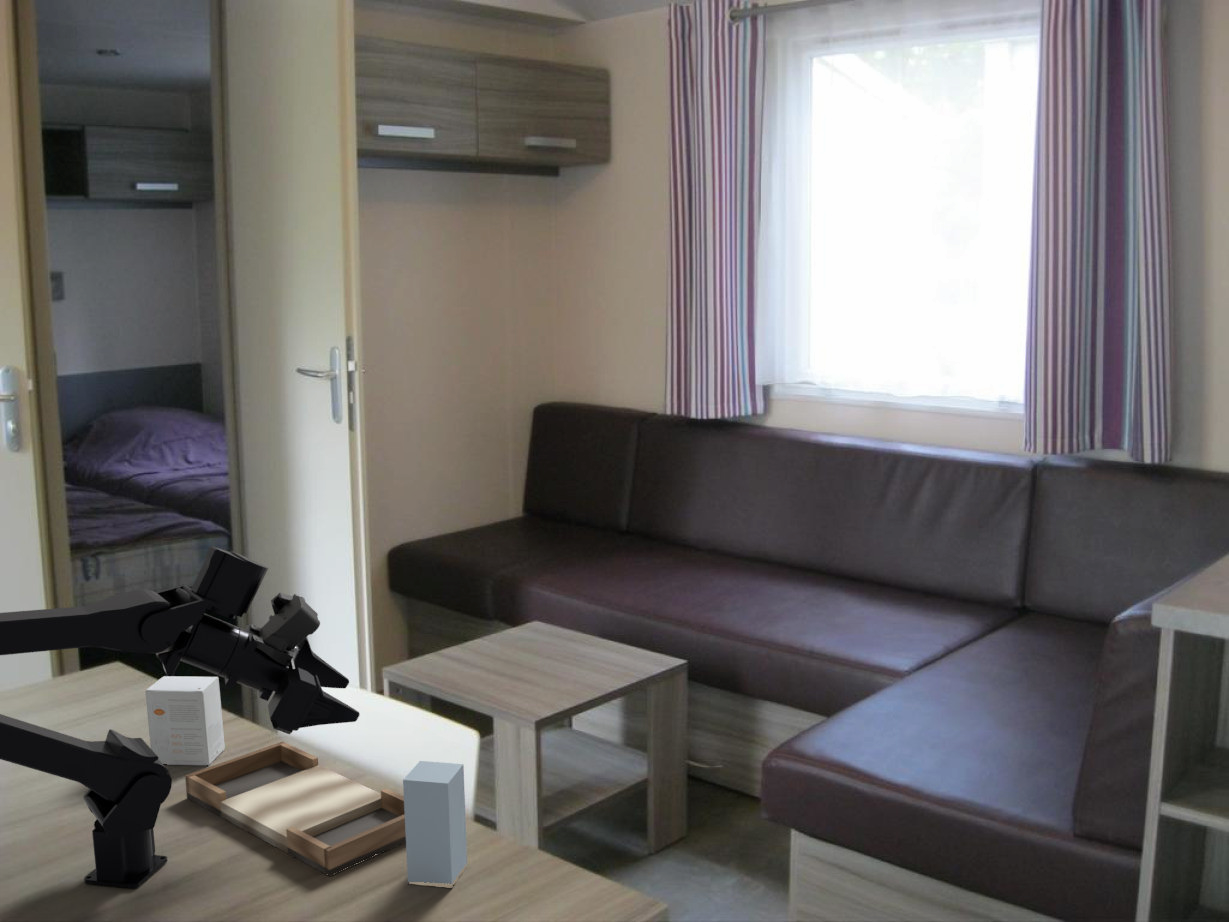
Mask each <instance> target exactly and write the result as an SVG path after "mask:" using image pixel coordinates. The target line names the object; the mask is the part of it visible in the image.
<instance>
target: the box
mask: <svg viewBox="0 0 1229 922" xmlns="http://www.w3.org/2000/svg"><path fill="white" fill-rule="evenodd" d="M184 777H185V778H184V779H185V790H186V792H185V793H186V799H187V798H188V800H190V801H191V802H193V803H195V804H197V805H198V806H200V807H202V808H204V809H206V810H208V811H209V812H211V813H214V814H215V815H217V816H218V817H221V818H222V819H225V820H226V821H228V822H230V823H231V824H233V825H235V826H237V827H239V828H240V829H243V830H244V831H246V832H248V833H250V834H251V835H254V836H255V837H257V838H259V839H261V840H263V841H264V842H266V843H268V844H269V845H271V846H274V847H275V848H277V849H278V850H281V851H282V852H284V853H286V854H287V855H289V854H290V855H289V856H291V855H292V856H291V857H293V858H295V857H296V858H295V859H297V860H299V861H300V862H302V861H303V862H302V863H305V864H306V865H308V866H309V865H311V866H312V867H311V866H310V867H311V868H313V867H314V868H313V869H315V868H316V869H315V870H317V869H318V870H317V871H319V870H320V871H322V872H323V873H322V872H321V873H322V874H324V873H325V874H324V875H326V874H328V875H329V876H330V877H332V876H334V875H333V874H334V873H336V872H339V871H341V870H343V869H345V868H347V867H350V866H352V865H354V864H356V863H359V862H361V861H363V860H366V859H368V858H370V857H372V856H374V855H375V854H379V853H381V854H383V853H382V852H383V851H386V850H388V849H390V850H392V849H394V848H393V847H395V846H397V845H399V846H401V845H403V844H402V843H404V842H406V832H405V811H404V795H401V794H399V793H397V792H395V791H393V790H391V789H388V788H384V789H382V790H380V792H378V791H377V790H374V789H371V788H370V787H368V786H365V785H364V784H361V783H359V782H356V781H354V780H352V779H349V778H347V777H345V776H343V775H342V774H341V775H340V774H339V773H337V772H334V771H332V770H330V769H328V768H326V767H324V766H323V765H322V766H321V765H319V758H318V756H316V755H313V754H311V753H309V752H306V751H304V750H302V749H299V748H297V747H296V746H293V745H290V744H289V743H286V742H284V741H281V742H278V743H275V744H272V745H269V746H266V747H263V748H260V749H258V750H254V751H251V752H248V753H246V754H243V755H240V756H237V757H235V758H232V759H229V760H226V761H223V762H220V763H217V764H214V765H211V766H208V767H206V768H202V769H200V770H198V771H197V770H196V771H194V772H191V773H189V774H186V775H184ZM400 844H401V845H400ZM404 844H405V843H404ZM397 847H398V846H397ZM391 848H392V849H391ZM395 848H396V847H395ZM388 851H389V850H388ZM386 852H387V851H386ZM379 855H380V854H379ZM372 858H373V857H372ZM370 859H371V858H370ZM368 860H369V859H368ZM366 861H367V860H366ZM361 863H362V862H361ZM359 864H360V863H359ZM352 867H353V866H352ZM350 868H351V867H350ZM320 871H319V872H320ZM341 872H342V871H341ZM339 873H340V872H339ZM328 875H327V876H328ZM331 875H332V876H331ZM329 876H328V877H329Z"/></svg>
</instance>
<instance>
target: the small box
mask: <svg viewBox="0 0 1229 922" xmlns="http://www.w3.org/2000/svg"><path fill="white" fill-rule="evenodd" d="M219 679H220V678H219V676H186V675H185V676H175V675H172V676H167V675H164V676H162V677H161V678H159V679H158V680H156V682H154V683H153V684H151V685H150V686H149V687H148V688H147V689H145V691H144V692H145V702H146V712H147V714H146V715H147V721H148V723H147V724H148V725H147V726H148V733H149V735H148V736H149V743H150V744H149V745H150V748H151V749H152V751H153V752H154V753H155V754H156V755H157V756H158V759H159V760H160V762H161V763H162V764H167V765H166V766H169V765H170V766H207V765H208V766H210V765H211V764H212V763H213V762H214V761H215V760H216V758H218V756H219V755H220V754H221V753H222V752H223V751H224V750H225V749H226V746H225V737H224V736H225V735H224V734H225V732H224V726H223V725H224V723H223V712H222V701H221V690H220V681H219Z"/></svg>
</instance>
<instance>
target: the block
mask: <svg viewBox="0 0 1229 922" xmlns="http://www.w3.org/2000/svg"><path fill="white" fill-rule="evenodd" d="M464 768H465V767H464V764H463V763H451V762H440V761H429V760H427V761H426V760H425V761H424V760H419V761H418V763H416V765H415V766H414V767H413V768H412V769H411V770H410V772H408V774H407V775H405V777H404V778H403V779H402V786H403V789H402V790H403V796H404V811H405V832H406V843H405V846H406V847H405V851H406V869H407V871H406V873H407V883H408V882H424V883H427V882H429V883H433V882H434V883H444V884H445V883H447V884H448V883H449V884H452V883H453V881H454V880H455V879H456V877H457V876H458V875H459V873H460V872H461V870H462V869H463V868H464V866H465V865H466V863H467V864H468V852H467V851H468V848H467V847H468V845H467V822H466V821H467V817H466V799H465V798H466V797H465V796H466V795H465V774H464V772H465V769H464Z"/></svg>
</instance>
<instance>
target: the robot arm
mask: <svg viewBox="0 0 1229 922" xmlns="http://www.w3.org/2000/svg"><path fill="white" fill-rule="evenodd" d="M268 570H269V567H267V566H266V565H264V564H262V563H259V562H258V561H255V560H254V559H251V558H249V557H246V556H244V555H242V554H239V553H237V552H235V551H232V550H231V551H227V550H224V549H222V548H218V547H216V546H213V545H211V546H209V548H208V550H207V551H206V553H205V556H204V560H203V563H202V565H201V568H200V570H199V572H198V574H197V576H196V578H195V580H194V582H193V584H192V586H191V587H189V586H187V585H186V584H181V585H178V586H175V587H171V588H166V589H163V590H159V591H156V592H155V591H153V590H150V589H143V588H142V589H135V590H131V591H127V592H122V593H118V594H115V595H111V596H108V597H105V598H102V599H101V600H98V601H96V602H94V603H90V604H86V605H82V606H69V607H58V608H56V607H55V608H46V609H43V608H42V609H32V610H22V611H21V610H20V611H7V612H6V611H5V612H0V656H9V655H10V656H11V655H17V654H18V655H19V654H27V653H28V654H29V653H38V652H49V651H59V650H68V649H70V650H71V649H79V648H80V649H81V648H82V649H83V648H99V649H100V648H101V649H106V650H107V649H108V650H113V651H117V652H125V653H134V654H135V653H138V654H139V653H140V654H155V655H156V657H157V659H158V660H159V661H160V662H161V663H162V667H163V670H164V672H165V674H166V675H165V676H174V675H175V671H176V670H177V668H178V666H179V664H180V662H183V663H185V664H189V665H191V666H192V667H193V666H194V667H196V668H199V669H200V670H204V671H206V672H208V673H212V674H213V675H217V676H218V677H222V678H224V682H225V684H224V685H226V686H227V687H231V688H233V689H234V688H235V687H236V685H237V684H240V685H242V686H245V687H247V688H250V689H252V690H255V691H258V696H259V699H262V700H264V701H267V702H269V703H268V704H267V709H268V713H269V714H268V715H269V719H270V722H271V725H272V728H273V729H274V730H277V731H279V732H282V733H285V734H287V735H291V734H292V733H293V732H294V731H295V732H296V731H299V729H301V728H309V727H315V726H324V725H334V724H346V723H355V722H357V720H358V719H359V717H360V716H361V715H360V711H358V710H357V709H354V708H353V707H351V706H350V705H348V704H347V703H345V702H343V701H341V700H340V699H338V698H336V697H335V696H333V695H330V694H329V693H328V692H326V691H324V689H322V688H329V689H346V688H347V687H348V685H349V683H350V680H349V678H347V677H346V676H345V675H344V674H343V673H341V672H340V671H339V670H337V669H336V668H334V667H333V666H332V665H330V664H329V663H327V661H325V660H324V659H322V658H321V657H320V656H319V655H317V654H316V653H315V652H314V651H313V649H312V647H311V644H310V641H309V638H308V636H310V635H314V633H315V632H317V630H318V629H319V627H320V625H321V622H320V620H319V618H318V616H319V615H318V612H317V611H315V609H313V608H312V607H311V606H310V605H309V604H308V603H307V602H306V600H305V597H303V596H300V595H297V594H296V593H294V594H293V595H290V594H286V593H282V592H279V593H277V595H275V596H274V597H273V598H272V599H271V601H270V603H271V608H272V610H273V613H274V614H273V615H270V616H268V618H269V620H268V621H267V622H266V623H265V624H264V625H263V626H258V625H256V624H253V623H251V624H250V625H249V624H247V625H246V626H245V628H242V627H239V626H237V625H234V624H231V623H229V622H227V621H224V620H222V619H220V618H218V617H214V616H212V615H210V614H207V613H206V610H209V611H211V612H213V613H216V614H218V615H221V616H223V617H226V618H228V619H232V620H234V619H235V618H236V617H240V618H242V617H243V616H244V614H248V611H249V610H250V608H251V605H252V603H253V601H254V599H255V597H256V595H257V593H258V591H259V589H260V587H261V585H262V583H263V581H264V578H265V576H266V575H267V572H268ZM272 694H273V695H272ZM271 696H272V697H271ZM270 697H271V699H270ZM269 699H270V700H269ZM0 760H2V761H5V762H8V763H11V764H15V765H18V766H22V767H25V768H29V769H32V770H35V771H39V772H43V773H46V774H49V775H53V776H56V777H58V778H59V777H60V778H62V779H66V780H69V781H74V782H76V783H79V784H81V785H83V786H84V787H86V788H87V789H88V790H87V791H86V792H85V794H84V795H83V800H84V802H85V804H86V806H87V807H88V810H89V811H90V813H91V814H93V815H94V817H95V819H96V820H95V821H94V822H93V827H94V828H93V830H92V831H91V833H92V842H93V843H92V844H93V855H94V864H95V868H94V869H93V870H91V872H89V873H88V874H86V875H85V876H84V878H83V882H84V883H85V884H92V885H100V886H101V885H102V886H108V887H109V886H110V887H117V888H118V887H120V888H129V889H136V888H138V887H140V886H141V885H142V884H144V882H145V881H147V880H148V879H149V878H150V877H151V876H153V874H155V873H156V872H157V871H158V870H159V869H161V867H163V866H164V865H165V864H166V863H167V862H168V856H167V855H158V854H155V853H156V846H155V845H156V843H155V834H154V833H155V832H154V831H155V830H154V828H155V827H156V822H157V819H158V815H159V812H160V809H161V805H162V804H163V803H164V802H165V801H166V799H167V798H168V797H169V795H170V792H171V789H172V786H173V785H172V777H171V773H170V770H169V769H167V767H166V765H163V764H162V763H161V762H160V760H159V759H158V756H157V755H156V754H155V753H154V752H153V751H152V749H151V746H149V745H148V744H147V743H146V741H144V739H143V738H141V737H134V738H133V737H129V736H125V735H123V734H122V733H119V732H117V731H115V730H114V729H108V732H107V735H106V738H105V740H95V741H94V740H93V741H91V740H89V741H88V740H84V739H81V738H79V737H78V738H77V737H76V736H72V735H69V734H65V733H61V732H59V731H55V730H52V729H49V728H45V727H42V726H40V725H36V724H33V723H29V722H27V721H23V720H20V719H17V718H14V717H10V716H7V715H5V714H1V713H0Z"/></svg>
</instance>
